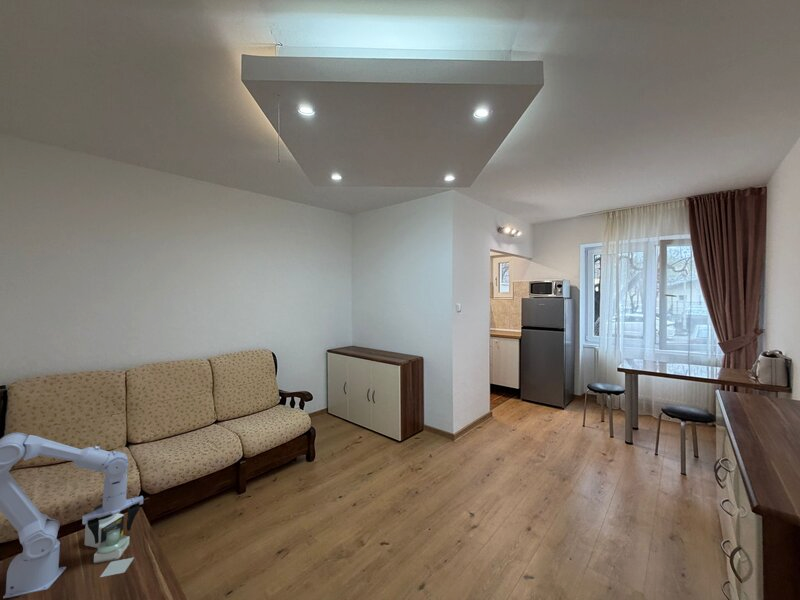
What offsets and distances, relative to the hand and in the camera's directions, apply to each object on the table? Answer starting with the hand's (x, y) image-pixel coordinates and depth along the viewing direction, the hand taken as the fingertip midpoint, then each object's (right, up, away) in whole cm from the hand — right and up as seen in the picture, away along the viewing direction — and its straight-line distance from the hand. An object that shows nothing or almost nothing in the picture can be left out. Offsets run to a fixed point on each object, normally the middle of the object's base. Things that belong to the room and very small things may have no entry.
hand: (113, 535), depth 101 cm
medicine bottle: (-8, -6, +6) cm, 12 cm away
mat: (+6, -6, -5) cm, 10 cm away
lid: (0, -3, 0) cm, 3 cm away
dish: (0, -6, 0) cm, 6 cm away
